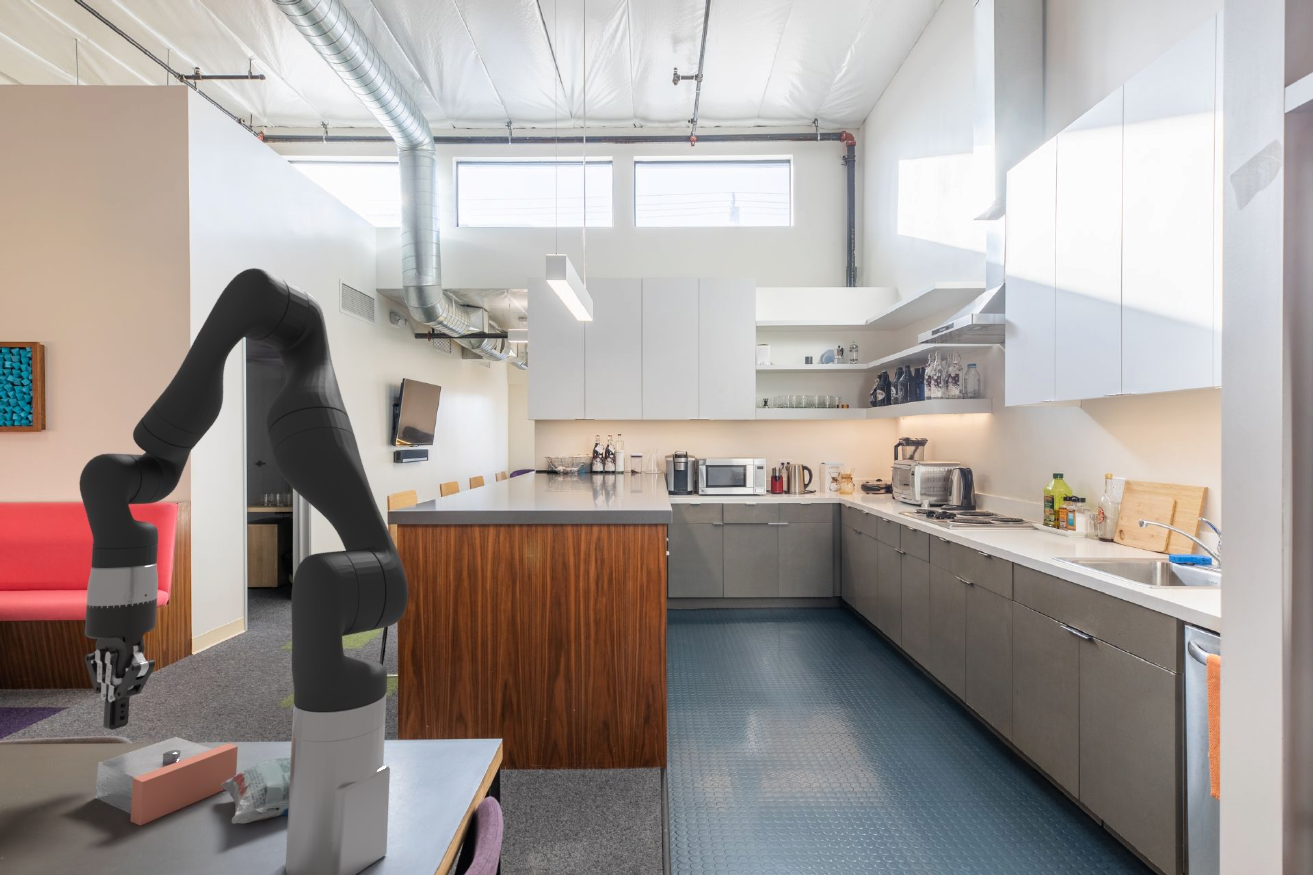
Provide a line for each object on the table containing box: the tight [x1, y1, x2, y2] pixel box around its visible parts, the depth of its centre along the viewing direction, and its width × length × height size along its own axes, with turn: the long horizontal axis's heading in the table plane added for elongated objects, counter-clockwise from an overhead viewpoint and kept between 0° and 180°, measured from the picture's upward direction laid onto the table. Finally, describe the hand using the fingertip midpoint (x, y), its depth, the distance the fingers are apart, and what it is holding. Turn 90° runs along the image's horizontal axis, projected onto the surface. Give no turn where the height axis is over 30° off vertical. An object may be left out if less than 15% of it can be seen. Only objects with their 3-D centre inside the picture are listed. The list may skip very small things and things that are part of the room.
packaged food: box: [221, 757, 291, 824], centre depth 80 cm, size 9×12×5 cm
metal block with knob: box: [95, 736, 213, 815], centre depth 83 cm, size 10×9×6 cm
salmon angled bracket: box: [130, 743, 239, 826], centre depth 83 cm, size 12×11×5 cm
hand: (115, 726), depth 87 cm, fingers closed
